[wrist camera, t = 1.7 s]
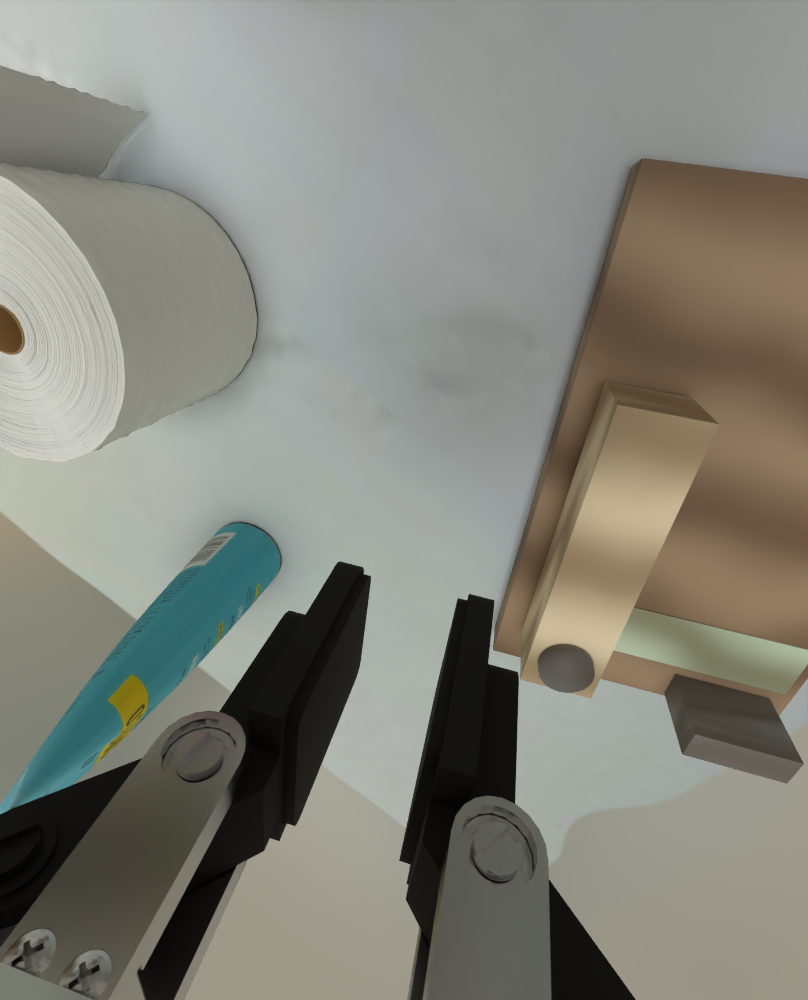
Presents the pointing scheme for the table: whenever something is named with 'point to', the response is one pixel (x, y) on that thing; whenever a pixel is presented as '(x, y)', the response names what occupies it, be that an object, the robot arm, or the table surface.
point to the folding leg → (611, 531)
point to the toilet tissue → (102, 282)
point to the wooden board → (726, 465)
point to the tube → (153, 657)
